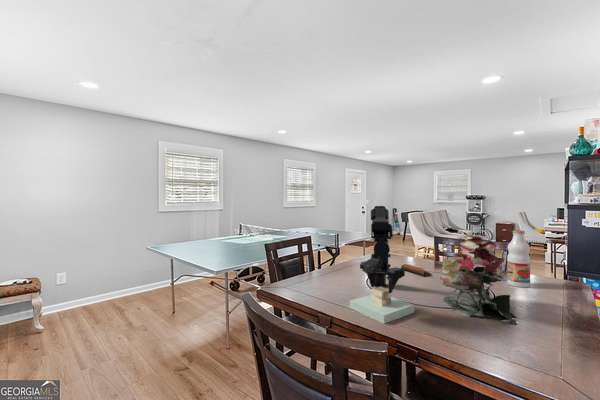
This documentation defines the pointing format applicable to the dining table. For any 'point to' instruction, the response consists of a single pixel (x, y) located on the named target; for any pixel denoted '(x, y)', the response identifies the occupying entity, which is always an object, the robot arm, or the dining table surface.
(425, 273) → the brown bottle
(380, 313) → the platform
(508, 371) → the dining table surface
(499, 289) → the dining table surface
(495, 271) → the rose bouquet
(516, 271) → the fruit juice
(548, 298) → the dining table surface
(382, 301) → the maple cube
